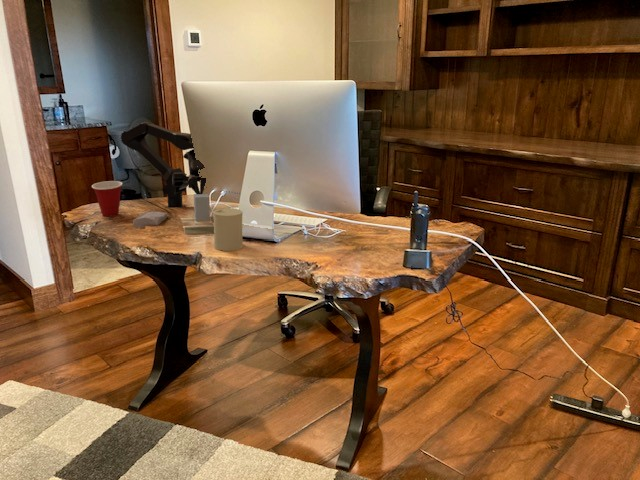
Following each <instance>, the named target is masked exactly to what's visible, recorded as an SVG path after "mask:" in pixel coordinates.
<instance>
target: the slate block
mask: <svg viewBox="0 0 640 480" xmlns="http://www.w3.org/2000/svg"><path fill="white" fill-rule="evenodd" d="M193 211H194V215H193V217H195V221H196V222H200V221H210V217H211V212H210V196H209V194H208V193H203V194H196V193H195V194H193Z"/></svg>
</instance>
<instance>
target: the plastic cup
mask: <svg viewBox="0 0 640 480" xmlns="http://www.w3.org/2000/svg"><path fill="white" fill-rule="evenodd" d="M122 186H123V182H122V181H118V180H108V181H100V182H96V183H93V184H92V185H91V188H92V189H93V190H94V194H95V195H96V198H97V204H98V207H99V208H100V212H101V215H102V216H103V217H115V216H118V215H119V212H120V202H121V192H122Z"/></svg>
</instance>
